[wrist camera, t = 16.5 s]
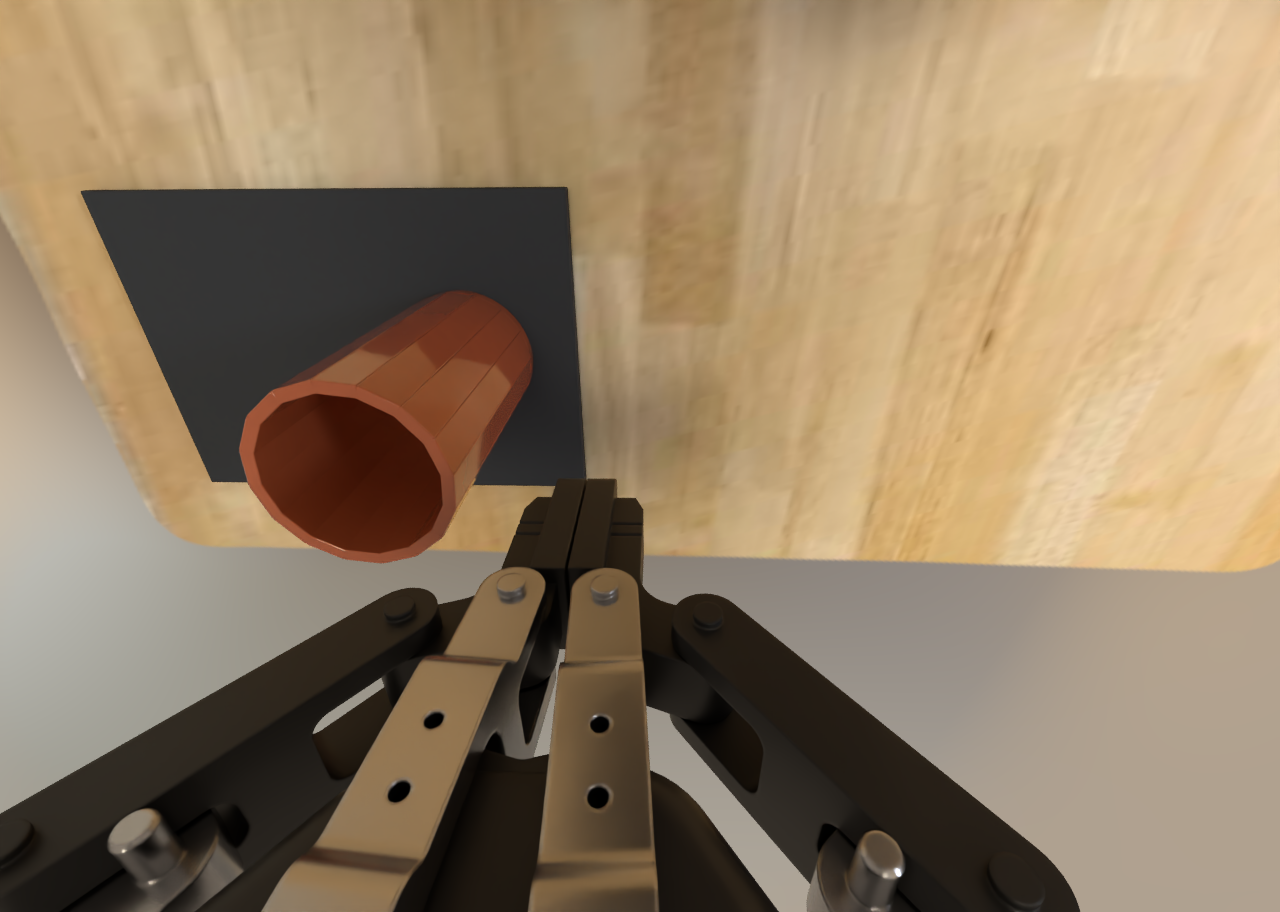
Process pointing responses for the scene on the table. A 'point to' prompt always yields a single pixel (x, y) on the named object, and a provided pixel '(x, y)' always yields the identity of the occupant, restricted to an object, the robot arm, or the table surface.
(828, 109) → the table surface
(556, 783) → the robot arm
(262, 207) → the mat
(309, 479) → the cup
